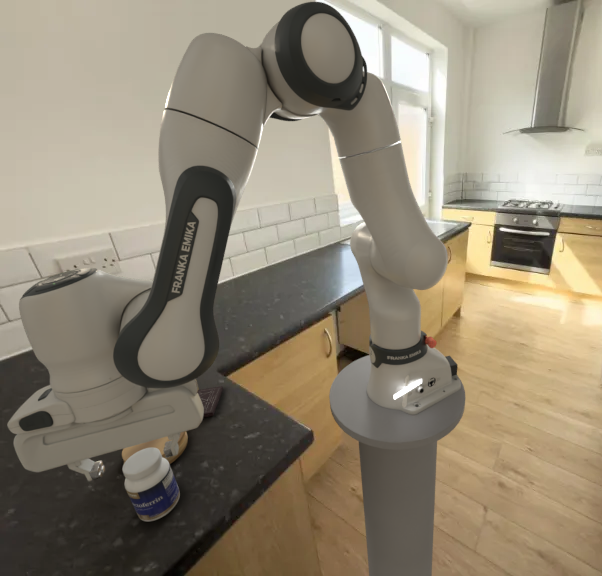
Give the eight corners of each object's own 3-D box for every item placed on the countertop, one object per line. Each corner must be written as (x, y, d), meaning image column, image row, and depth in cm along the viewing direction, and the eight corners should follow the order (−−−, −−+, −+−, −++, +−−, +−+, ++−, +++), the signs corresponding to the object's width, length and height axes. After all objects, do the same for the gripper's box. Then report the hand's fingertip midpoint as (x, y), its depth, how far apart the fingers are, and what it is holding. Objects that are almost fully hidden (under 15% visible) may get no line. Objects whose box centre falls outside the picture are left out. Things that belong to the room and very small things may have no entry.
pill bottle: (131, 527, 48) (108, 481, 44) (148, 492, 53) (128, 448, 50) (173, 517, 49) (154, 472, 46) (186, 484, 54) (169, 440, 51)
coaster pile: (192, 424, 67) (188, 413, 66) (185, 463, 58) (181, 451, 57) (134, 441, 63) (129, 429, 62) (117, 485, 55) (111, 473, 53)
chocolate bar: (212, 412, 69) (117, 428, 65) (213, 415, 69) (119, 432, 66) (222, 386, 77) (138, 399, 73) (223, 389, 77) (140, 402, 74)
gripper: (195, 358, 49) (214, 427, 54) (19, 395, 42) (60, 471, 47) (190, 382, 44) (212, 456, 49) (-13, 429, 36) (37, 511, 41)
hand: (136, 464), depth 48 cm, fingers open, 8 cm apart
